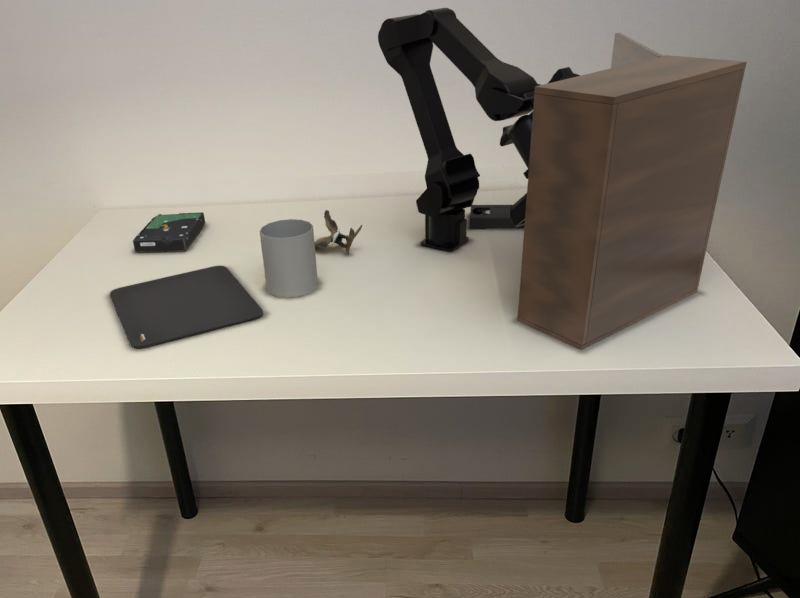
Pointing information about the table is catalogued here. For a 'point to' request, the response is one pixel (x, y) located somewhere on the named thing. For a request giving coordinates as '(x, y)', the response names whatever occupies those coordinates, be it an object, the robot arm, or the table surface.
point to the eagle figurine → (336, 235)
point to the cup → (289, 258)
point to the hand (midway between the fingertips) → (597, 245)
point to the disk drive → (169, 232)
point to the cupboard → (623, 192)
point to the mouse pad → (182, 306)
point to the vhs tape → (491, 217)
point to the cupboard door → (630, 51)
